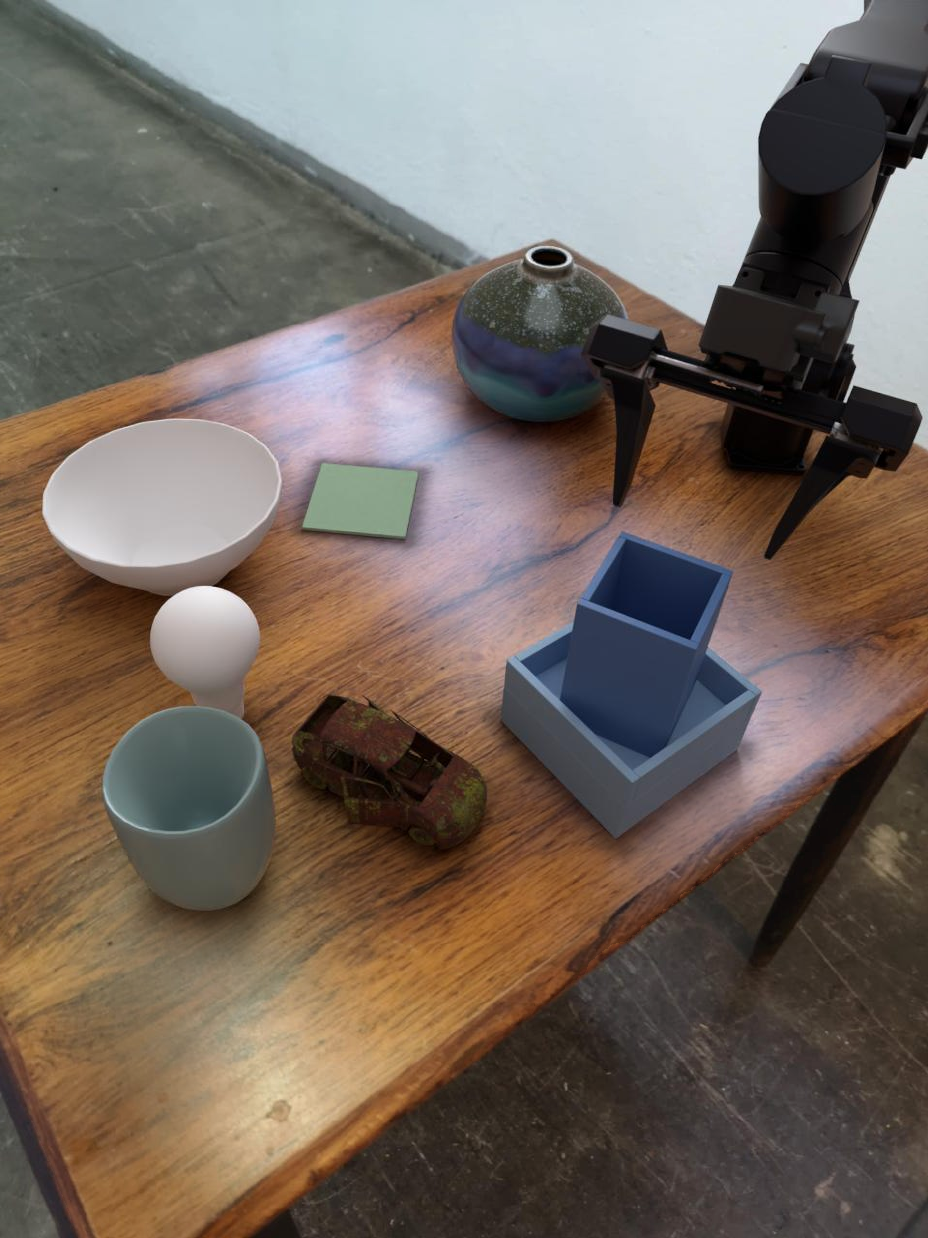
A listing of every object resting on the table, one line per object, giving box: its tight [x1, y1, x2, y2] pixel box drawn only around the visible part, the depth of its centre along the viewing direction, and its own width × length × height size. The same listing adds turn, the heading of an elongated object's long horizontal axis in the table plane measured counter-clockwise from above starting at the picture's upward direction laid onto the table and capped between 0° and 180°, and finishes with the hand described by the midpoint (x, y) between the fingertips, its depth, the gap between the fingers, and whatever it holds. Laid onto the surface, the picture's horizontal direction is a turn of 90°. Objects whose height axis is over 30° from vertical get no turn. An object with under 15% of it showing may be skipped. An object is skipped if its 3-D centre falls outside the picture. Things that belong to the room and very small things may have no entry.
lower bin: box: [500, 620, 763, 839], centre depth 59 cm, size 11×11×6 cm
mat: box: [301, 462, 419, 540], centre depth 76 cm, size 8×8×1 cm
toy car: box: [291, 694, 488, 850], centre depth 56 cm, size 12×7×5 cm, turn 60°
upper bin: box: [560, 530, 734, 758], centre depth 55 cm, size 7×7×10 cm
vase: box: [451, 245, 630, 423], centre depth 82 cm, size 15×15×13 cm
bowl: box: [41, 418, 283, 597], centre depth 68 cm, size 16×16×7 cm
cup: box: [101, 705, 277, 912], centre depth 50 cm, size 8×8×10 cm
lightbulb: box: [149, 586, 261, 720], centre depth 57 cm, size 6×6×11 cm
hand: (689, 532), depth 56 cm, fingers open, 9 cm apart
